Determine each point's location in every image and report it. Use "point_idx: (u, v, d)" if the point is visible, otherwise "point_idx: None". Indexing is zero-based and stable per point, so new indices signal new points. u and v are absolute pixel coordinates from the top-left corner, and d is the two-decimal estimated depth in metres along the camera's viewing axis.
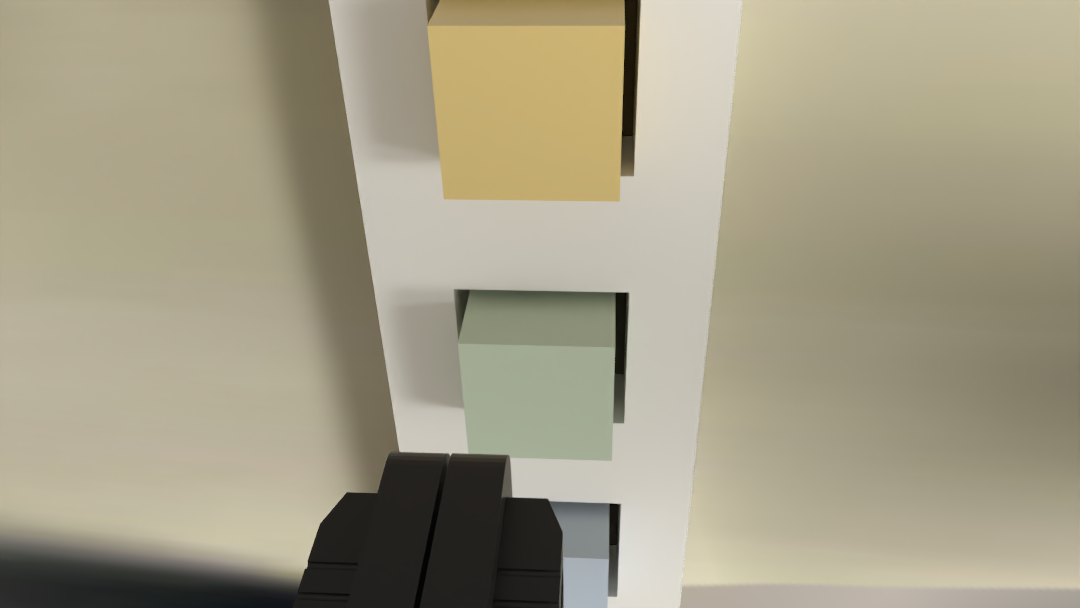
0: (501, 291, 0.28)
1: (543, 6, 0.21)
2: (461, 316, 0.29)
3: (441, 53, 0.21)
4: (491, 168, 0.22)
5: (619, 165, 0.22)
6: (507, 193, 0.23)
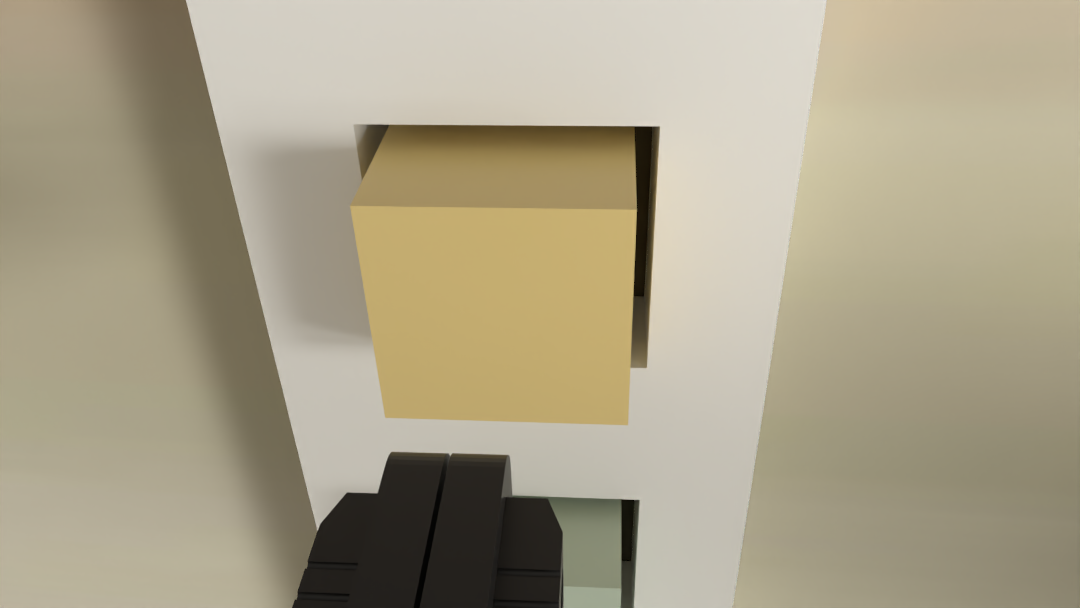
0: None
1: (520, 168, 0.15)
2: None
3: (372, 240, 0.14)
4: (449, 382, 0.16)
5: (628, 383, 0.16)
6: (473, 413, 0.16)
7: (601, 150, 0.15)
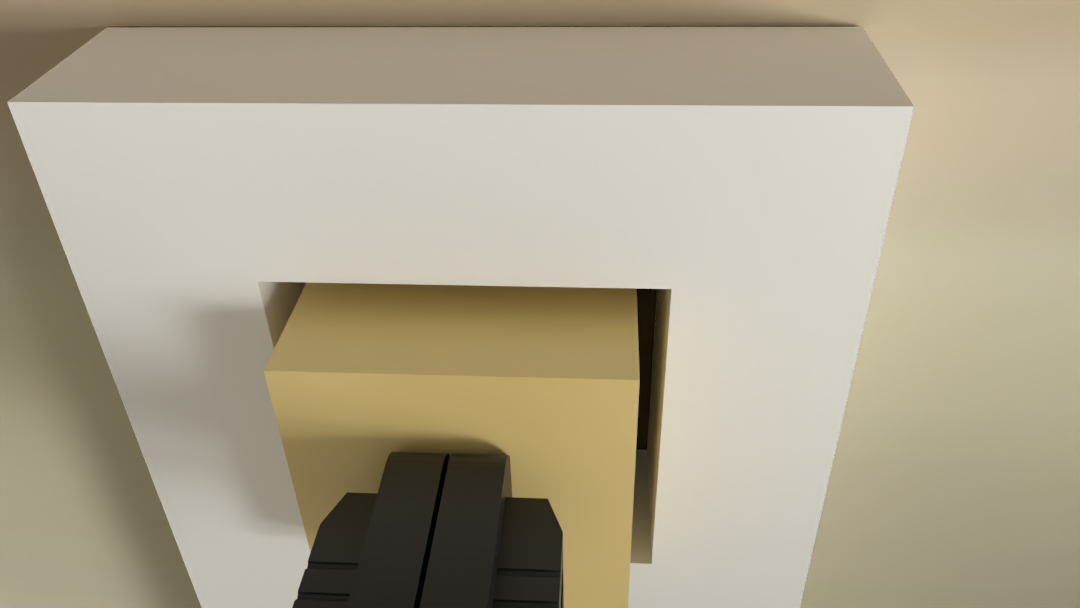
0: None
1: (488, 309, 0.12)
2: None
3: (295, 411, 0.11)
4: None
5: (627, 572, 0.12)
6: None
7: None
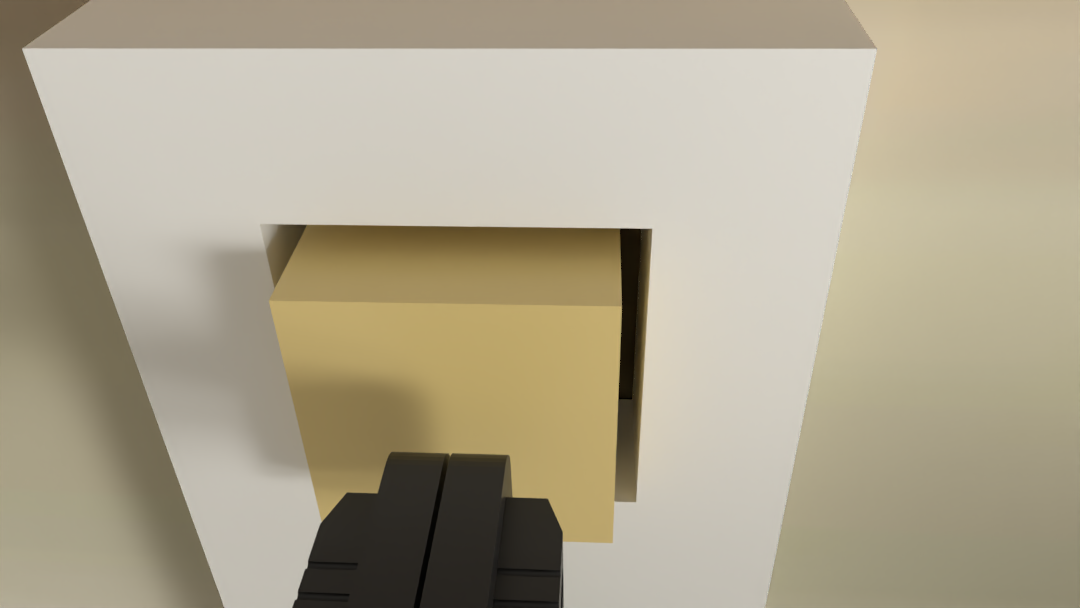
0: None
1: (479, 246, 0.12)
2: None
3: (297, 340, 0.12)
4: None
5: (612, 498, 0.13)
6: None
7: None
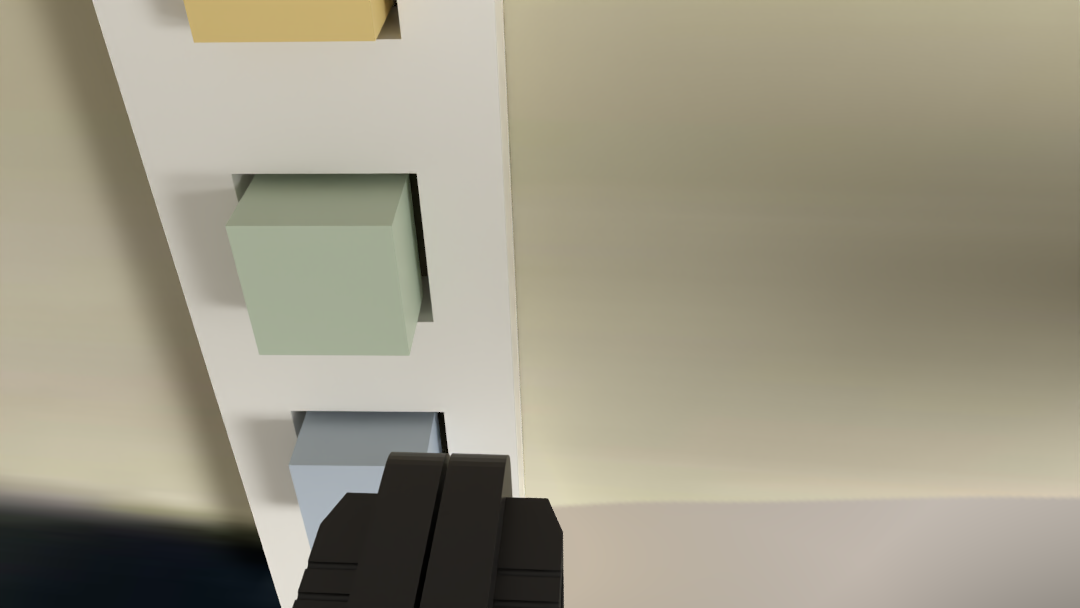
0: (286, 177, 0.26)
1: None
2: None
3: None
4: (237, 5, 0.21)
5: None
6: (259, 34, 0.22)
7: None
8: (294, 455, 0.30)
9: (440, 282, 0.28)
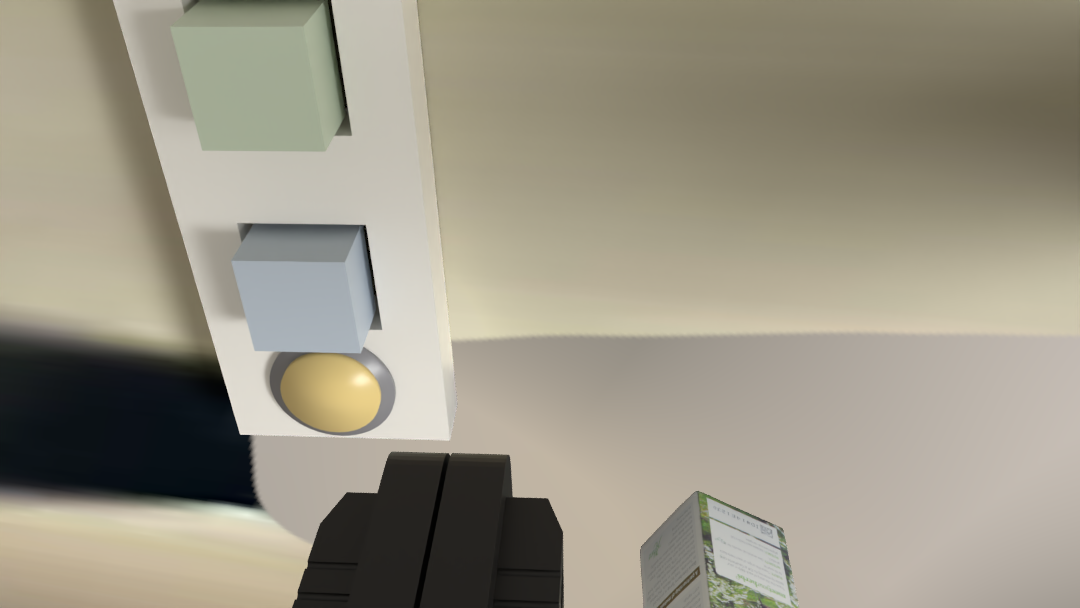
0: (226, 1, 0.32)
1: None
2: None
3: None
4: None
5: None
6: None
7: None
8: (237, 254, 0.35)
9: (355, 97, 0.33)
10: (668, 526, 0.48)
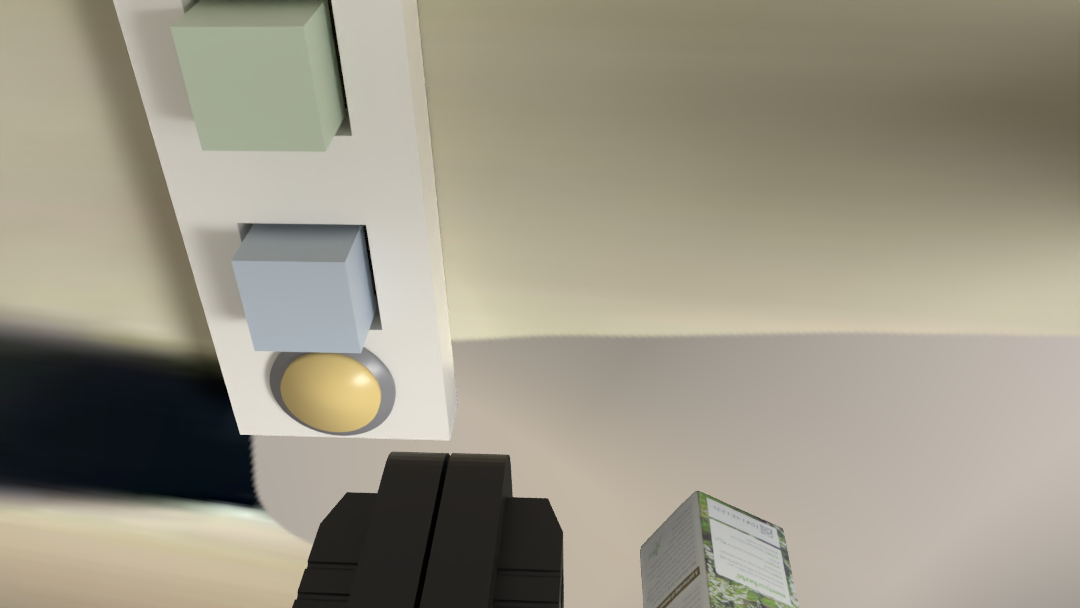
0: (226, 1, 0.32)
1: None
2: None
3: None
4: None
5: None
6: None
7: None
8: (237, 254, 0.35)
9: (355, 97, 0.33)
10: (668, 526, 0.48)
